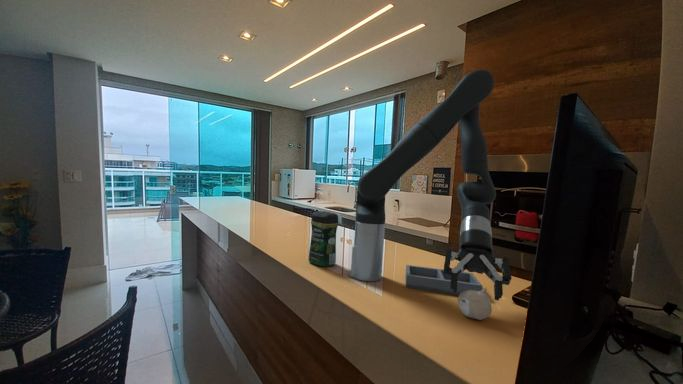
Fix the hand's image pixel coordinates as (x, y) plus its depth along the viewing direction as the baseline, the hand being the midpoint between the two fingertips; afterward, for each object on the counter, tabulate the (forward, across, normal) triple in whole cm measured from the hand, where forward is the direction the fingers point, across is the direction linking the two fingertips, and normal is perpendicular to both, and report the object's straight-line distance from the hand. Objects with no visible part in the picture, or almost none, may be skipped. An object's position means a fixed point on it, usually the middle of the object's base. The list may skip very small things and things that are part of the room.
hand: (475, 294), depth 60 cm
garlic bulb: (+4, 0, +4) cm, 6 cm away
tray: (-8, -8, +16) cm, 20 cm away
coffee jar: (-8, -48, +16) cm, 51 cm away
